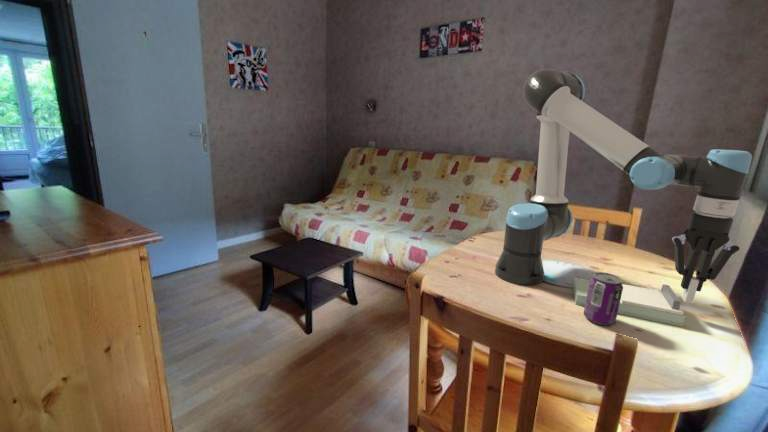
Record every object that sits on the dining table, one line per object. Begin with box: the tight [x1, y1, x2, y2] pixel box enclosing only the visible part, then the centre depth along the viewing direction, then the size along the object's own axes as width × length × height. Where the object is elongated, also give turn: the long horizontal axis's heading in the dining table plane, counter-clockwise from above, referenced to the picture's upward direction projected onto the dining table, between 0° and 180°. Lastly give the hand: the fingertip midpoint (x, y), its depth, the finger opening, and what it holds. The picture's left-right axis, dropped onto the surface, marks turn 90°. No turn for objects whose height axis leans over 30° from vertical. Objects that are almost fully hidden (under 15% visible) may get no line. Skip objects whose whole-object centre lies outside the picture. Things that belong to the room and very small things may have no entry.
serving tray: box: [572, 277, 686, 328], centre depth 96 cm, size 24×12×3 cm, turn 65°
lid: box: [621, 283, 685, 315], centre depth 93 cm, size 13×12×3 cm
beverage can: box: [583, 271, 623, 326], centre depth 87 cm, size 7×7×12 cm
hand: (686, 300), depth 90 cm, fingers closed
